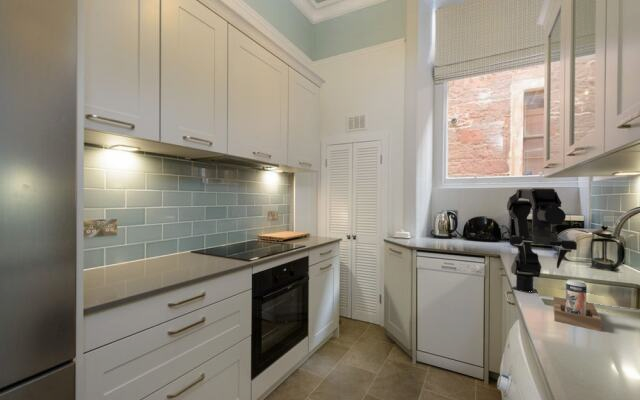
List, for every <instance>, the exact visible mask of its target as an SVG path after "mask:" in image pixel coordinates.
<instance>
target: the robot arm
mask: <svg viewBox="0 0 640 400" xmlns="http://www.w3.org/2000/svg"><path fill="white" fill-rule="evenodd" d="M520 199H522V200H520ZM524 199H525V200H524ZM562 203H563V202H562V200H561V199H560V197H559V195H558V192H557V191H556V190H555V188H552V187H551V188H548V187H546V188H545V187H540V188H539V187H533V188H519V189H517V190H516V192H515V193H514V194H512V195H511V196H510V197H509V199H508V201H507V204H506V210H507V211H508V214H509V217H511V219H513V221H514V230H515V235H511V236H510V237H509V244H511V245H513V247H516V248H517V253H516V255H515V256H514V258H513V259H514V260H513V263H512V265H511V267H510V273H511V274H513V275H515V276H516V277H515V278H516V280H515V286H513V287H511V288H512V289H513V290H516V289H518V290H517V291H520V290H523V291H522V292H524V291H527V292H526V293H528V292H529V291H530V292H531V291H535V292H537V291H538V289H535V288H534V277H536V278H540V276H541V270H542V265H541V263H540V261H539V254H538V253H537V252H535V251H533V250H532V245H536V246H537V245H538V246H539V245H543V246H546V247H547V246H551V247H559V249H558V255H557V260H556V269H559V268H560V266H561V264H562V261H563V259H564V257H565V256H566V254H567V253H571V252H572V251H575V250H577V249H578V248H577V247H578V243H577V242H576V241H575V240H572V239H562V238H561V239H560V240H558V233H559V232H558V231H553V225H560V224H562V223H563V222H565V219H566V216H567V215H566V213H565V211H564V210H563V209H562V208H561V207H562ZM531 210H532V211H531ZM530 214H532V215H531V232H530V230H529V229H530V228H529V223H528V222H529V221H528V217H529V215H530ZM531 293H532V292H531Z"/></svg>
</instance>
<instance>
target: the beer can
mask: <svg viewBox="0 0 640 400" xmlns="http://www.w3.org/2000/svg"><path fill="white" fill-rule="evenodd" d="M587 289H588V288H587V284H586V282H585V281H583V280H580V279H579V280H578V279H571V278H570V279H569V278H568V279H567V281H565V299H566V304H565V312H569V313H574V314H579V315H584V316H586V302H587V293H588V292H587Z"/></svg>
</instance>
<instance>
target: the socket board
mask: <svg viewBox="0 0 640 400" xmlns="http://www.w3.org/2000/svg"><path fill="white" fill-rule="evenodd" d="M565 304H566V298H562V297H558V296H553V316H554V317H553V319H554V322H557V323H562V324H567V325H572V326H576V327H579V328H580V327H581V328H586V329H588V330H589V329H590V330H594V331H599V332H602V318H601V317H600V315H599V313H598V310H597V309H596V306H595V305H594V303H590V302H587V301H586V316H584V315H579V314H574V313H569V312H565Z"/></svg>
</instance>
